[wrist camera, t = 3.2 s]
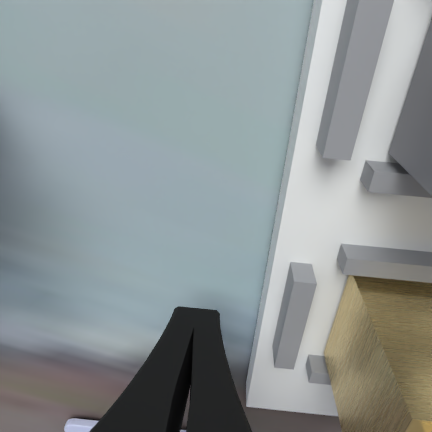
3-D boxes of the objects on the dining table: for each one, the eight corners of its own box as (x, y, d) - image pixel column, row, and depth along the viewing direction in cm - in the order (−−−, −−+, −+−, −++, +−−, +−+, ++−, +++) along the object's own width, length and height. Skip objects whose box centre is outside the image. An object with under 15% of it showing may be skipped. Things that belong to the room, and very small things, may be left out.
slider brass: (402, 360, 14) (490, 552, 9) (323, 352, 14) (367, 537, 9) (443, 278, 12) (583, 467, 7) (350, 269, 12) (425, 449, 7)
